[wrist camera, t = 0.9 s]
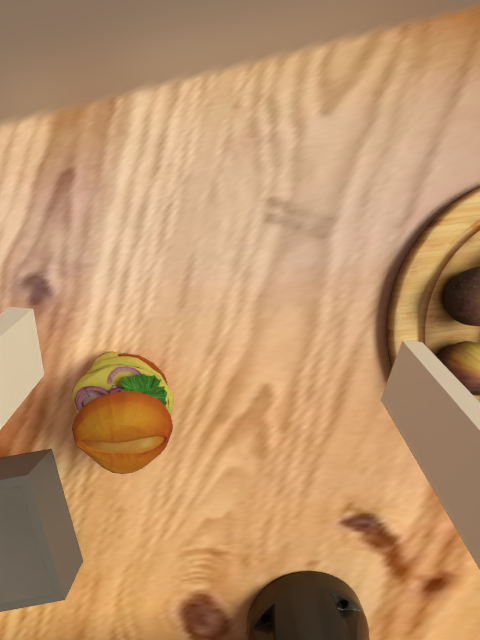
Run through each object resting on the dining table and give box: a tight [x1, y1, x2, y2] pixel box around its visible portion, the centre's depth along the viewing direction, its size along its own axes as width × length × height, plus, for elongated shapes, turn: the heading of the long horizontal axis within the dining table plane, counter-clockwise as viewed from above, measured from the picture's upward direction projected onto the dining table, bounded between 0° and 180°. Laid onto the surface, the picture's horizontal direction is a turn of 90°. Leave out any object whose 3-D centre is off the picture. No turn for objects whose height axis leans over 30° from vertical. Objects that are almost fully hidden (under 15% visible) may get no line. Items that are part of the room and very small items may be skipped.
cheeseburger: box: [72, 352, 174, 474], centre depth 36 cm, size 10×11×10 cm
